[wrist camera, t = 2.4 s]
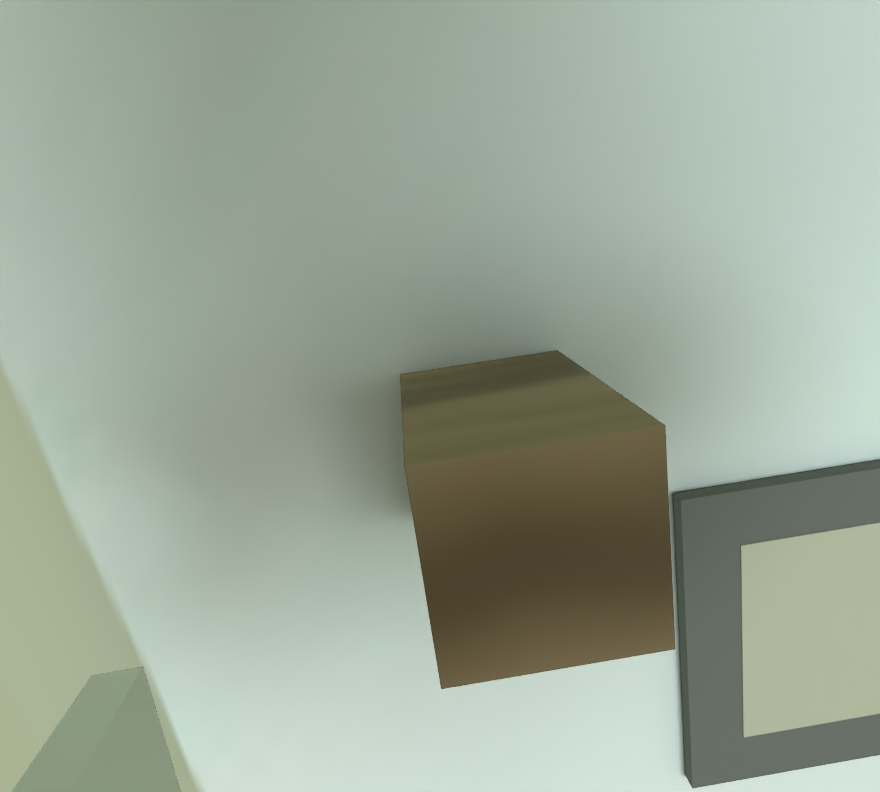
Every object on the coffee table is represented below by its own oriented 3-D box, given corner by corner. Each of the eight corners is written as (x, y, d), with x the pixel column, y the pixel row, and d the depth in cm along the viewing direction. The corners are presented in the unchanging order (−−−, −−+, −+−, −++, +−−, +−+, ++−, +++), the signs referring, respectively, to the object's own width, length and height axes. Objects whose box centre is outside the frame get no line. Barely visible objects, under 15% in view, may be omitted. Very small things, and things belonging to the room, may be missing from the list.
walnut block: (400, 374, 19) (404, 466, 12) (557, 350, 19) (665, 425, 12) (423, 518, 21) (441, 689, 13) (570, 495, 21) (675, 649, 13)
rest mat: (672, 493, 21) (681, 501, 20) (1010, 438, 21) (1029, 444, 21) (685, 774, 24) (693, 789, 23) (979, 722, 24) (995, 735, 24)
